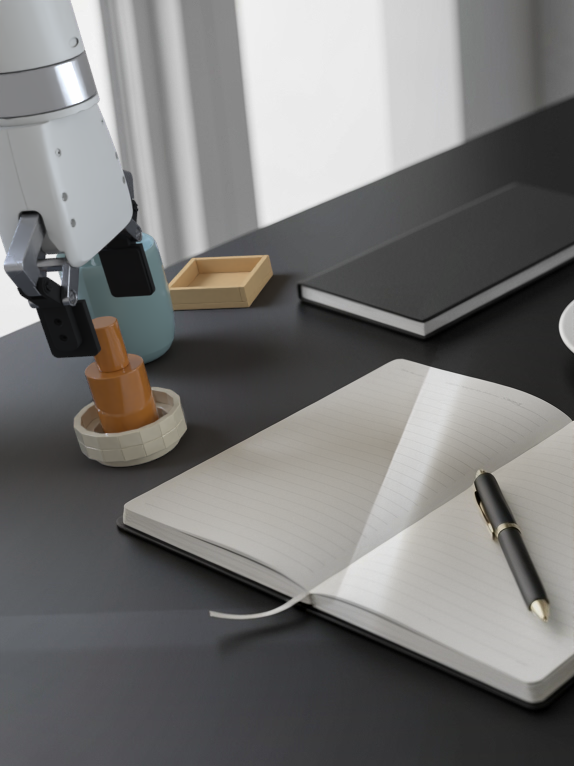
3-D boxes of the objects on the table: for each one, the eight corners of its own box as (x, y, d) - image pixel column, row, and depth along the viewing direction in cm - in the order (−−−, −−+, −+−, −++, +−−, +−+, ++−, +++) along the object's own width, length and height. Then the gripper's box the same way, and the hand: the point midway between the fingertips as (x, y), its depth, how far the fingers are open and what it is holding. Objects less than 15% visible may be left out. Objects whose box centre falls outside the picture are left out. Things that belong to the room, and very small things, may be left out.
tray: (168, 310, 117) (162, 289, 116) (197, 277, 124) (191, 257, 123) (249, 307, 117) (244, 286, 116) (273, 274, 124) (269, 254, 123)
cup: (104, 387, 104) (70, 275, 100) (76, 356, 110) (42, 248, 105) (198, 356, 109) (169, 248, 104) (167, 328, 114) (138, 223, 109)
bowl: (67, 473, 93) (55, 438, 91) (109, 422, 99) (99, 388, 98) (168, 469, 93) (157, 434, 91) (203, 418, 99) (194, 384, 98)
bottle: (97, 451, 94) (60, 335, 89) (119, 423, 97) (85, 311, 93) (151, 449, 94) (117, 333, 89) (171, 421, 97) (139, 309, 93)
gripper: (36, 57, 91) (106, 277, 99) (-99, 132, 75) (-3, 384, 84) (140, 51, 90) (201, 272, 99) (26, 124, 75) (109, 378, 83)
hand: (107, 323), depth 91 cm, fingers open, 9 cm apart
